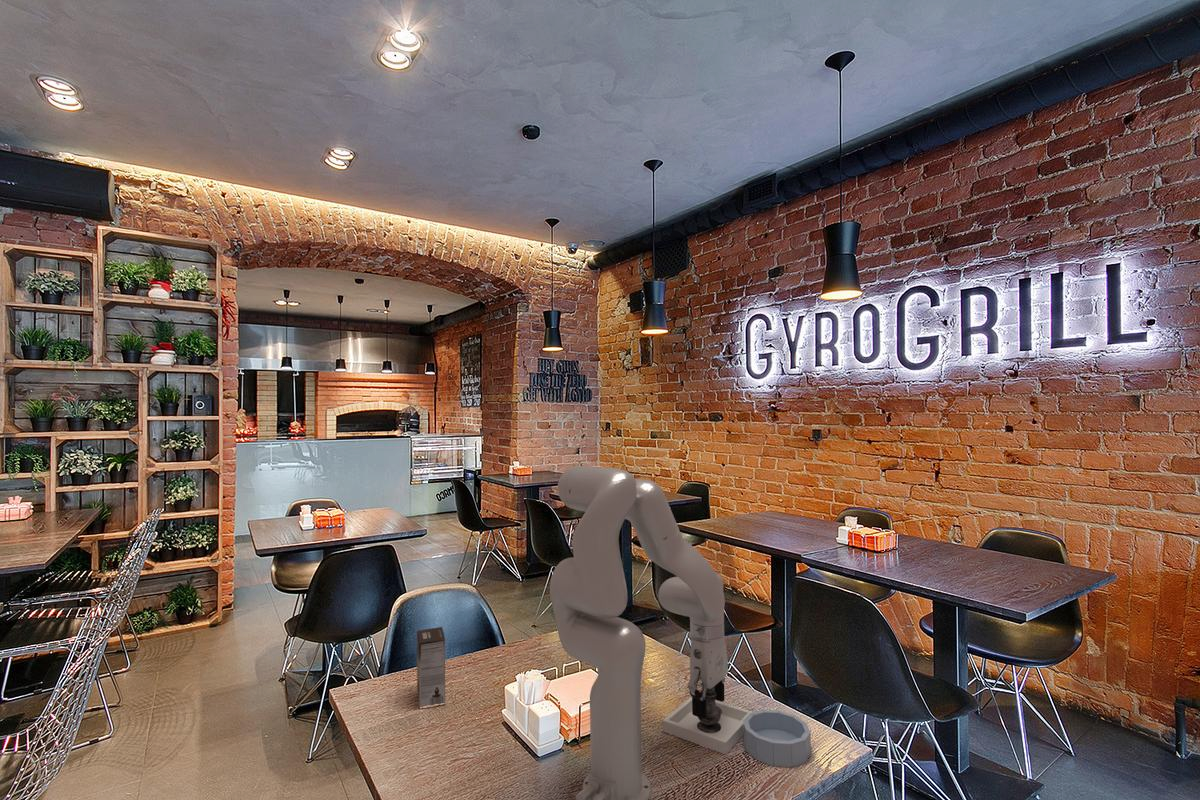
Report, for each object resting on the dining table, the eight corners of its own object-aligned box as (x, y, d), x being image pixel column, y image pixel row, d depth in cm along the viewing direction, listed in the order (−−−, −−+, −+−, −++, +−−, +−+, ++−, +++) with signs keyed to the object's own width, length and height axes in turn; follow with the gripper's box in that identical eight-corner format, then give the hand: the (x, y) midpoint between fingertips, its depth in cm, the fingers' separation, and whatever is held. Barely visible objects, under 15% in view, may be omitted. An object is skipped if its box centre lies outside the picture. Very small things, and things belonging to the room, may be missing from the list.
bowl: (797, 774, 111) (797, 751, 111) (734, 752, 119) (734, 729, 119) (818, 743, 121) (817, 722, 121) (758, 724, 129) (758, 704, 129)
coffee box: (416, 693, 146) (416, 629, 147) (442, 689, 148) (442, 626, 149) (419, 710, 138) (418, 642, 138) (446, 705, 140) (446, 638, 140)
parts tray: (726, 755, 118) (725, 742, 118) (662, 731, 127) (662, 720, 127) (754, 723, 130) (754, 712, 130) (694, 704, 139) (694, 693, 139)
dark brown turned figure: (722, 735, 125) (721, 678, 125) (695, 732, 126) (694, 676, 126) (722, 721, 130) (721, 667, 131) (696, 718, 132) (695, 665, 132)
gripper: (704, 645, 120) (706, 730, 119) (738, 621, 134) (740, 697, 133) (673, 637, 124) (674, 719, 124) (709, 614, 138) (710, 688, 137)
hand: (708, 707), depth 128 cm, fingers open, 8 cm apart
